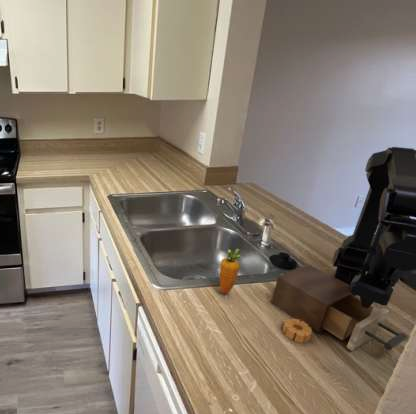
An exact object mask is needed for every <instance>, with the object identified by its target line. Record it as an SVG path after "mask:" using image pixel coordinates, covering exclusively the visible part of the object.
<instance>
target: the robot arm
mask: <svg viewBox="0 0 416 414" xmlns="http://www.w3.org/2000/svg"><path fill="white" fill-rule="evenodd" d="M365 172H366V173H365V176H366V179H367V182H368V185H369V188H368V191H367V194H366V196H365V200H364V201H363V205H362V208H361V211H360V213H359V216H358V218H357V222H356V225H355V228H354V231H353V233H352V235H350V236H348V237H347V238H345V239H344V240H343V241H342V243H341V246H339V247H338V248H337V249H336V250H335V251H334V253H333V257H332V267H336V269H335V271H334V273H333V277H335V278H337V279H339V280H341V281H342V282H344V283H346V284H348V285H350V286H349V289H348V291H349V292H350V293H352V294H355V295H356V297H359V298H360V300H361V304H362V307H365V308H369V307H370V306H371V305H373V304H374V303H375V304H377V305H380V306H384V307H385V306H388V304H389V303H390V300H391V297H392V295H393V293H394V288H393V287H395V286H396V284H398V282H399V281H400V282H401V283H402V284H404V285H406V286H407V287H409V288H410V289H412V290H413V291H415V292H416V149H414V148H412V147H401V146H392V147H390V146H389V147H387V148H386V149H385V150H382V151H377V152H374V153H372V154H371V156H369V158H368V159H367V162H366V165H365Z"/></svg>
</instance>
